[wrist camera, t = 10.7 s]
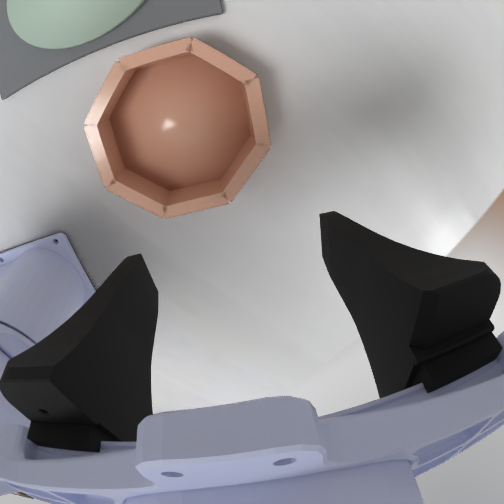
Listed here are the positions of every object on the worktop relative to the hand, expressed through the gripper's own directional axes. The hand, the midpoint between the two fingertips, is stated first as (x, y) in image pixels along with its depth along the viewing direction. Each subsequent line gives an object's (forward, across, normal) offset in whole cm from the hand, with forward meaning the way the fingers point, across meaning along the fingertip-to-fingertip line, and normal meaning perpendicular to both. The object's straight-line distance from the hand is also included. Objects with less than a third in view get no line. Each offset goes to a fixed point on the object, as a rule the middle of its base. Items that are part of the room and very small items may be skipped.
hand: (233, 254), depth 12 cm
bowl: (+10, +2, -4) cm, 11 cm away
